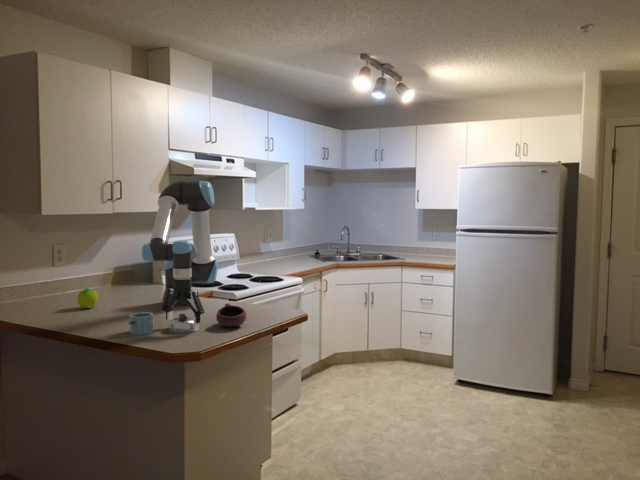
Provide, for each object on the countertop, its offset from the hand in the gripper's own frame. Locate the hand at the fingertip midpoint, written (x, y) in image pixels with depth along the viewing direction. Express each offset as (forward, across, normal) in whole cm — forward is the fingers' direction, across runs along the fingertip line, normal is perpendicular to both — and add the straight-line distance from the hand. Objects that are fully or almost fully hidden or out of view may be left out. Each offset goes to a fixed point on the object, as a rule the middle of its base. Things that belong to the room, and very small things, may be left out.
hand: (183, 329), depth 222 cm
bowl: (0, +14, +13) cm, 19 cm away
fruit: (0, -68, +14) cm, 69 cm away
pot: (0, -13, -10) cm, 16 cm away
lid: (0, 0, 0) cm, 0 cm away
